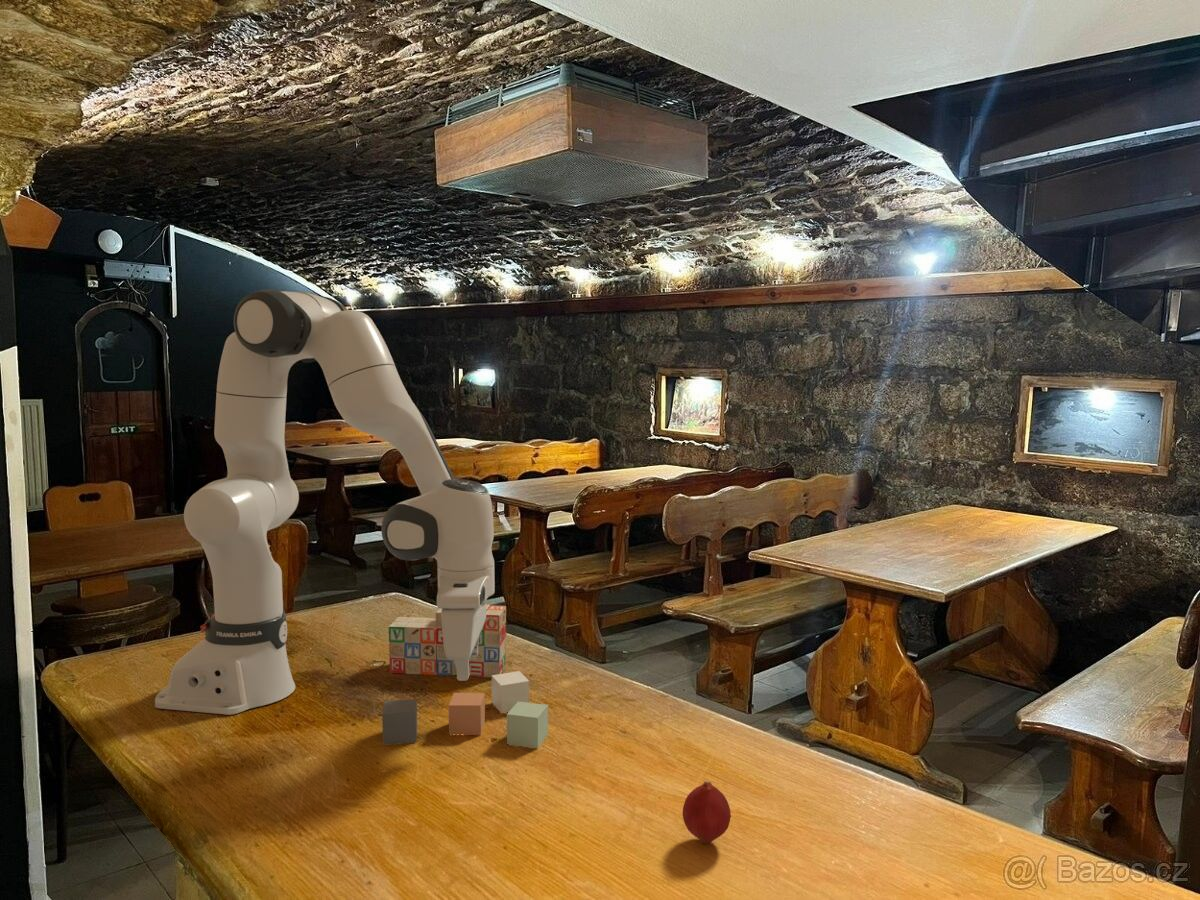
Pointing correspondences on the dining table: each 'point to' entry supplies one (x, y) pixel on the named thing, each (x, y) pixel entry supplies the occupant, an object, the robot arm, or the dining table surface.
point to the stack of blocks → (423, 647)
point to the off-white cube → (509, 690)
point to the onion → (706, 813)
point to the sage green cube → (527, 724)
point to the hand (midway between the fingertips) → (467, 668)
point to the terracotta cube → (467, 713)
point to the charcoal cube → (399, 721)
